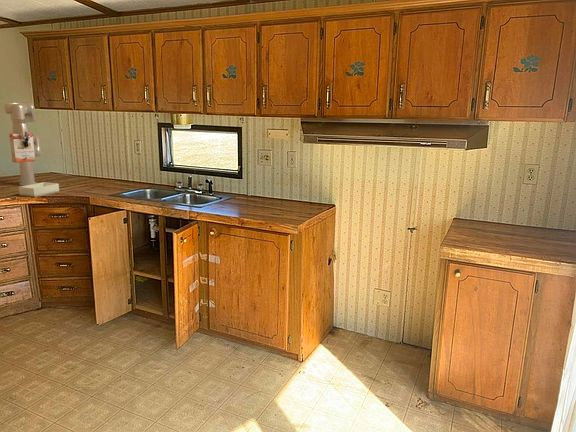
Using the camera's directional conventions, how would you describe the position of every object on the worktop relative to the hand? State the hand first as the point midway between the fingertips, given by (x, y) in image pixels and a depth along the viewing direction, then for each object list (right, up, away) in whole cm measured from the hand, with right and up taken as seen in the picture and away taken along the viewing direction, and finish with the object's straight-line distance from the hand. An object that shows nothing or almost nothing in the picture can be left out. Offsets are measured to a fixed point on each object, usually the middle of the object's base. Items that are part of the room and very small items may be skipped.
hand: (22, 146), depth 318 cm
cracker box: (0, -11, +3) cm, 12 cm away
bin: (+12, -34, +2) cm, 36 cm away
